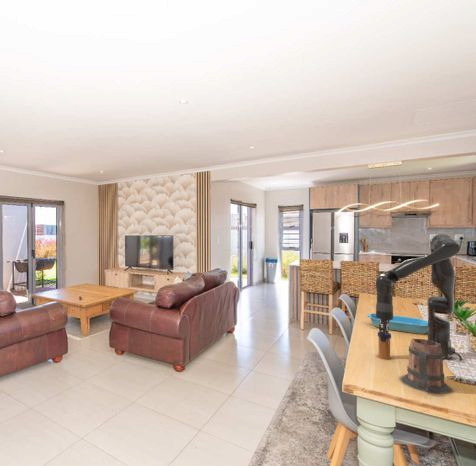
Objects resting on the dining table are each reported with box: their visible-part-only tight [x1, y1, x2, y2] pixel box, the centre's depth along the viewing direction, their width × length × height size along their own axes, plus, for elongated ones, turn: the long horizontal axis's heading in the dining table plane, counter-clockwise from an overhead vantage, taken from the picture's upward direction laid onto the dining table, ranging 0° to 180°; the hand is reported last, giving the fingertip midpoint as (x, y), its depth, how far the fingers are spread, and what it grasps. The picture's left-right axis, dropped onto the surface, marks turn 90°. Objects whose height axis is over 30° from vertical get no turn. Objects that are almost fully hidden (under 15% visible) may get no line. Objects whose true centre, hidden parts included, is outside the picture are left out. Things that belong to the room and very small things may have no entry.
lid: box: [377, 331, 392, 340], centre depth 185 cm, size 6×6×2 cm
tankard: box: [401, 338, 452, 394], centre depth 152 cm, size 24×17×20 cm
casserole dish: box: [366, 312, 428, 335], centre depth 236 cm, size 37×22×7 cm, turn 54°
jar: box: [378, 337, 391, 360], centre depth 185 cm, size 5×5×13 cm
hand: (384, 339), depth 185 cm, fingers closed on lid, 5 cm apart
